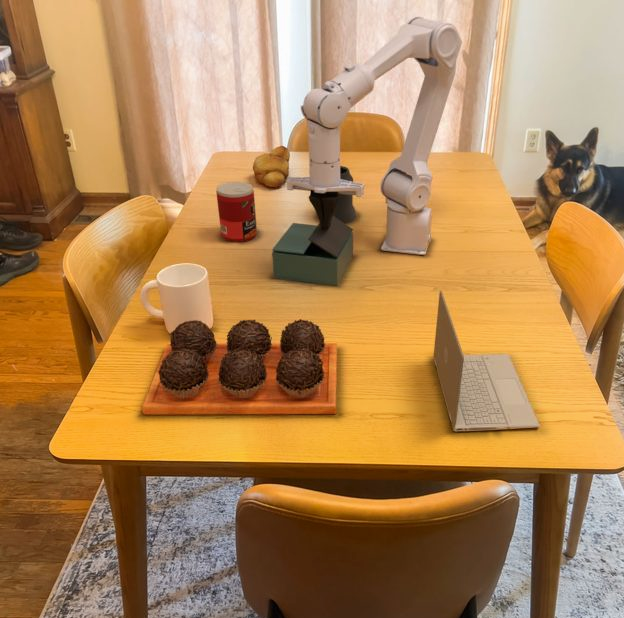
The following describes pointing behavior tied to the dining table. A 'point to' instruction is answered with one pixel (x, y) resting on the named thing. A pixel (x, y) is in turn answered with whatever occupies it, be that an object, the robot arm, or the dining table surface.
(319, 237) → the lid
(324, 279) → the storage box
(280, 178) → the bread roll
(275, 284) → the dining table surface
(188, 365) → the truffle serving tray
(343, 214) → the mug
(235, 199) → the canned food
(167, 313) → the mug
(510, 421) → the laptop
